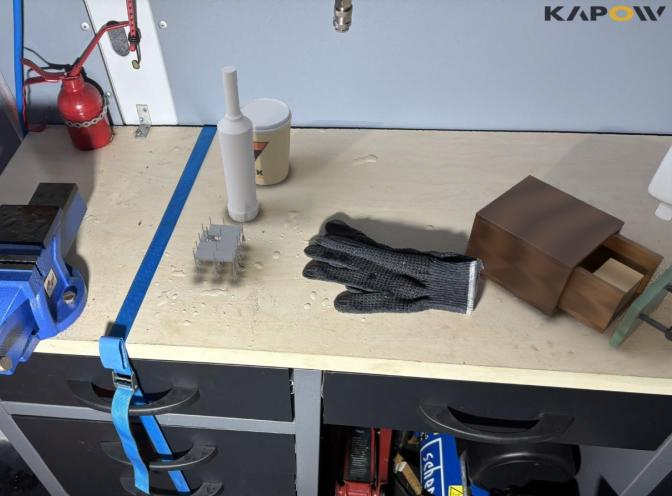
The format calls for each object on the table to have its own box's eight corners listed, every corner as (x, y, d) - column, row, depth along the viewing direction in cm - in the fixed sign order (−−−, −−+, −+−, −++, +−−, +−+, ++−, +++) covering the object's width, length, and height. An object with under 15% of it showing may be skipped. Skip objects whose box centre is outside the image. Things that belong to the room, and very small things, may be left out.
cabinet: (599, 272, 87) (625, 221, 80) (549, 317, 82) (572, 267, 75) (513, 224, 95) (529, 174, 88) (462, 262, 90) (475, 212, 83)
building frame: (196, 280, 90) (190, 251, 86) (207, 244, 95) (202, 214, 91) (237, 283, 89) (233, 254, 85) (246, 246, 95) (243, 217, 90)
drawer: (697, 324, 79) (727, 283, 73) (653, 372, 74) (682, 332, 69) (570, 254, 89) (588, 213, 83) (524, 292, 84) (540, 251, 78)
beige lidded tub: (230, 171, 108) (223, 110, 99) (270, 150, 112) (267, 90, 103) (262, 195, 103) (257, 133, 94) (303, 173, 107) (303, 112, 98)
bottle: (258, 222, 98) (246, 77, 80) (227, 223, 99) (208, 79, 80) (259, 202, 102) (248, 59, 83) (229, 203, 102) (211, 60, 84)
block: (598, 281, 84) (610, 257, 80) (630, 299, 81) (644, 275, 78) (580, 297, 82) (592, 274, 78) (612, 316, 79) (626, 293, 76)
